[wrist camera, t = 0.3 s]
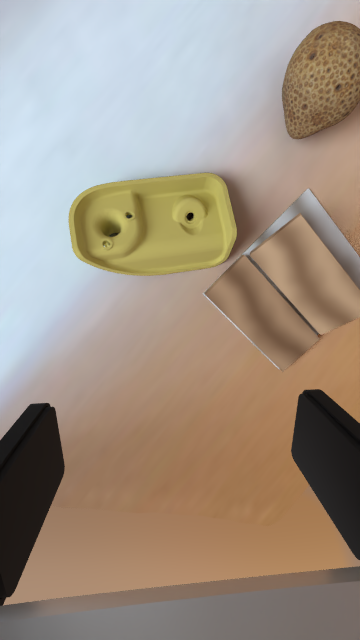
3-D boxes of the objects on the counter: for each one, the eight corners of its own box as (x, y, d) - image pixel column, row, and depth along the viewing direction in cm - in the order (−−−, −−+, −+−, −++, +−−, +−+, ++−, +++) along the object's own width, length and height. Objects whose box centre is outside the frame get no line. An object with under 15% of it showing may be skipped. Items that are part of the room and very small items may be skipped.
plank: (300, 212, 33) (301, 214, 32) (372, 305, 37) (375, 310, 36) (249, 252, 37) (249, 255, 37) (319, 330, 42) (320, 335, 41)
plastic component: (223, 170, 33) (240, 242, 31) (211, 206, 40) (224, 265, 38) (64, 186, 30) (73, 264, 29) (82, 221, 38) (90, 285, 36)
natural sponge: (331, 58, 32) (404, -22, 22) (333, 139, 34) (400, 97, 25) (261, 74, 32) (305, 0, 22) (269, 153, 34) (311, 117, 25)
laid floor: (307, 188, 36) (313, 186, 35) (376, 281, 41) (384, 282, 39) (202, 293, 39) (204, 295, 38) (278, 368, 44) (281, 372, 42)
